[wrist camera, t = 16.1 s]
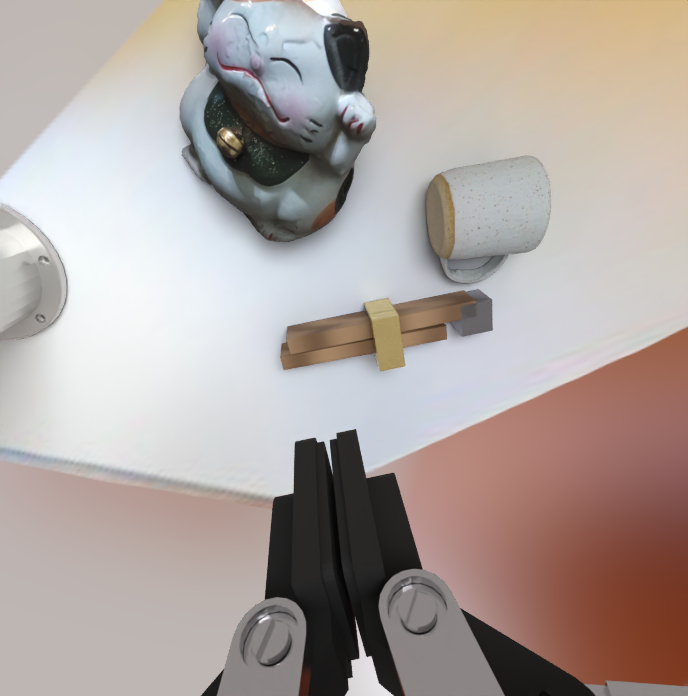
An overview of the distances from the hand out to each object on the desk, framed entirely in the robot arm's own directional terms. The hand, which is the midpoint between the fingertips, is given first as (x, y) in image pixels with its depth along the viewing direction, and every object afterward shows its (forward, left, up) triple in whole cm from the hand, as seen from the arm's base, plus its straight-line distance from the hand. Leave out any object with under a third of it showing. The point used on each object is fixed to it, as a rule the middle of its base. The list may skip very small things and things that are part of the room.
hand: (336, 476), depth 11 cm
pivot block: (+14, -9, -29) cm, 33 cm away
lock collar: (+5, -8, -29) cm, 31 cm away
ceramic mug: (+15, 0, -29) cm, 33 cm away
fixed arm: (+5, -8, -29) cm, 30 cm away
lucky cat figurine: (-1, +11, -29) cm, 31 cm away
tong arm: (+3, -9, -29) cm, 31 cm away
